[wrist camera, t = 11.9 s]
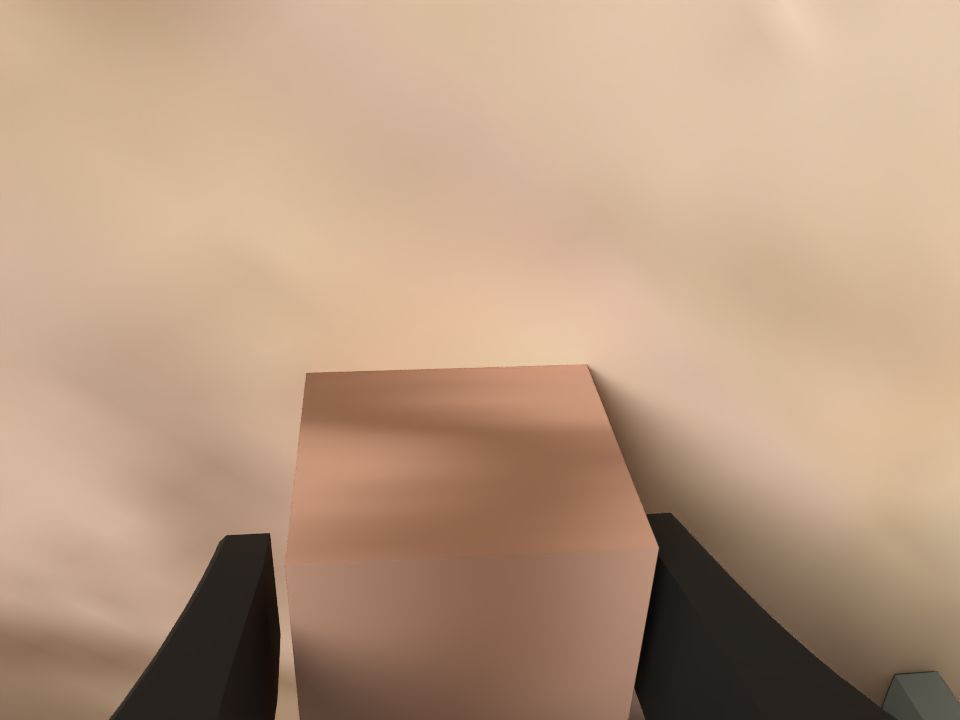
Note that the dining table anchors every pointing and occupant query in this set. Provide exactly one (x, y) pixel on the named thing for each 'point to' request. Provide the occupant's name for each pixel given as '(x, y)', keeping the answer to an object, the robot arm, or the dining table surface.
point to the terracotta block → (464, 548)
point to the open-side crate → (921, 698)
